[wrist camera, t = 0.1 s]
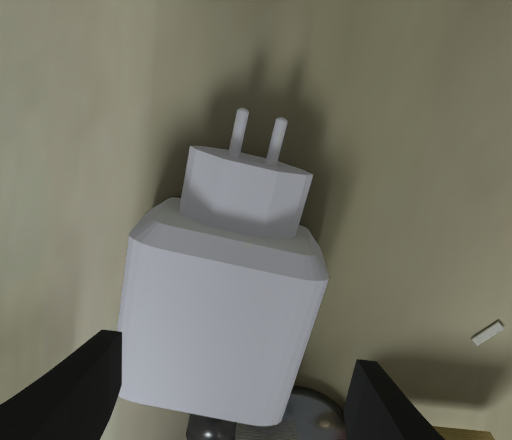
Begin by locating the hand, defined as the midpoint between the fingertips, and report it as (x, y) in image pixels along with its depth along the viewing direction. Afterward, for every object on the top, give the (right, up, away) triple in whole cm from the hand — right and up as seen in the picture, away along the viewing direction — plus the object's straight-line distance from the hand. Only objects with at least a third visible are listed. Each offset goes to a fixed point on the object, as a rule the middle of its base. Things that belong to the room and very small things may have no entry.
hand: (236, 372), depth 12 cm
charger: (-1, +3, +10) cm, 11 cm away
